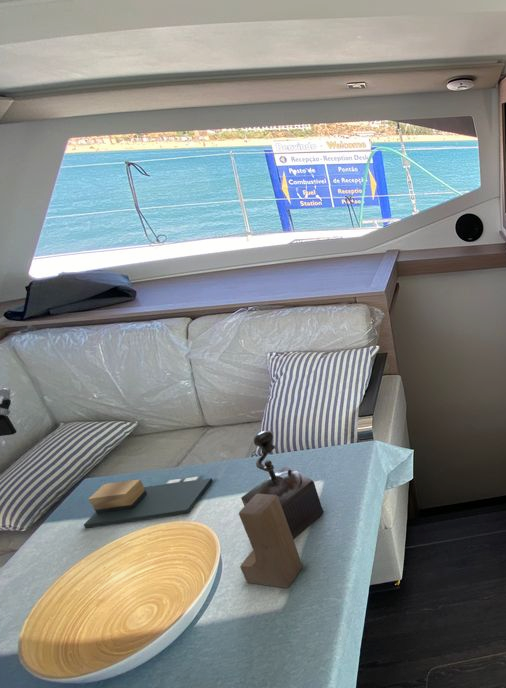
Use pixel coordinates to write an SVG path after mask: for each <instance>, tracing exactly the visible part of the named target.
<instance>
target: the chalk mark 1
mask: <svg viewBox="0 0 506 688" xmlns="http://www.w3.org/2000/svg"><path fill="white" fill-rule="evenodd" d="M178 482H183V479H182V478H176V479H169V480H168V481H166V482H165V484H171V483H178Z"/></svg>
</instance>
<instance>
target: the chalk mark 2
mask: <svg viewBox="0 0 506 688" xmlns="http://www.w3.org/2000/svg"><path fill="white" fill-rule="evenodd" d="M193 480H200V477H199V476H192V477H186V478H184V480H182V482H186V481H193Z"/></svg>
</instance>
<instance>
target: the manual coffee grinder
mask: <svg viewBox="0 0 506 688" xmlns="http://www.w3.org/2000/svg"><path fill="white" fill-rule="evenodd" d="M273 439H274V434H273V432H272V431H271V430H263V431H260V432H259V433H257V434H256V435H255V436H254V438H253V443H254V445H255V446H256V447H259V448H260V449H261V452H260V453H261V454H262V455H260V457H259V458H258V459H257V460H256V463H255V465H256V468H258V469H259V470H261V471H264V472H268V474H269V477H267V478H266V479H265V480H263V481H262V482H260V483H258V485H256V486H255V487H253V488H252V489H250V490H249V491H248V492H247V493H245V494H244V495H242V496H241V498H240V499H241V502H242V504H243V507H244V506H245V505H246V504H247V503H248V502H249V501H250V500H251V499H252V498H253V497H254V496H255V495H256V494H269V495H277V496H278V498H279V501H280V503H281V506H282V509H283V512H284V515H285V517H286V520H287V523H288V526H289V529H290V532H291V534H292V537H293V540H294V539H296V538H297V537H298V536H299V535H301V534H302V533H303V532H304V531H305V530H306V529H307V528H310V526H311V525H313V523H315V522H316V521H317V520H318V519H320V517H322V515H323V514H324V512H325V510H324V509H323V507H322V503H321V501H320V497H319V494H318V490H317V487H316V485H315V482H314V480H313V479H311V478H310V477H308V476H306V475H304V474H302V473H301V472H299V471H297V470H295V469H293V468H292V467H290V466H287V465H285V466H284V467H282V468H281V469H279V470H278V471H276V472H275V471H274V469H275V466H274V465H273V464H272V461H271V460H269V459H267V460H265V459H266V457H267V456H268V455H269V454H271V453H272V452H273V450H275V449H276V445H275V444H273ZM264 460H265V461H264ZM263 461H264V464H263Z"/></svg>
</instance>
